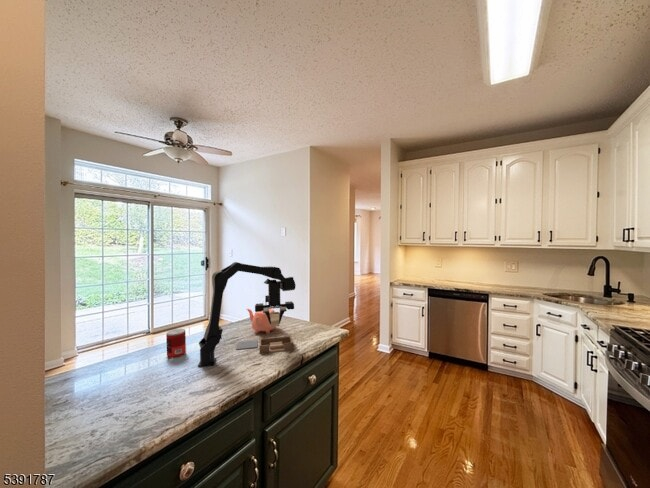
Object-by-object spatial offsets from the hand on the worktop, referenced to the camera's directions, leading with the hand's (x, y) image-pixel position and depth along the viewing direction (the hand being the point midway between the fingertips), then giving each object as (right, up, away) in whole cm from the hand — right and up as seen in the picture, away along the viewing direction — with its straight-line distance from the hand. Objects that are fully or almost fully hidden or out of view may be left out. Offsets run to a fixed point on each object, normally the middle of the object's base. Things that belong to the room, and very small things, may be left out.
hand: (274, 323), depth 134 cm
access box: (+1, -12, 0) cm, 12 cm away
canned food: (-45, -13, -6) cm, 47 cm away
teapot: (-12, -12, +27) cm, 32 cm away
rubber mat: (-15, -12, +4) cm, 20 cm away
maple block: (0, -1, 0) cm, 1 cm away
